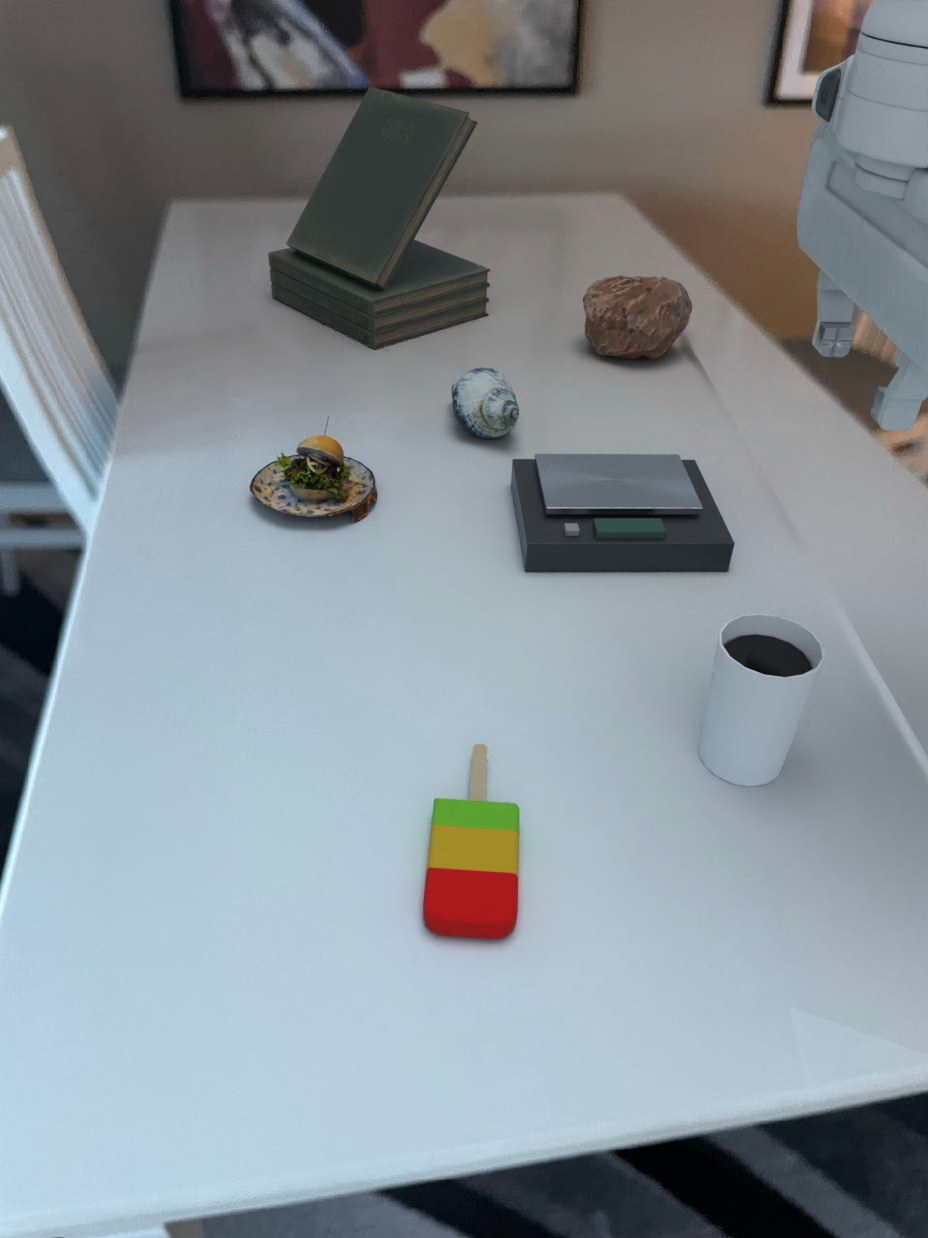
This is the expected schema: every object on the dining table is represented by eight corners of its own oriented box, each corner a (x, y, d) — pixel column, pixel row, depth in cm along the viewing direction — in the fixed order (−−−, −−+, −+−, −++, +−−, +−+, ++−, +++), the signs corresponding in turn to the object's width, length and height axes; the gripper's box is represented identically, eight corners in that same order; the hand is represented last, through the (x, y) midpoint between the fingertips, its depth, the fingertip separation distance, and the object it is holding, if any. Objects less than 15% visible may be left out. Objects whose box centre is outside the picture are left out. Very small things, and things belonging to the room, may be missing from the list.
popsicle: (420, 938, 57) (420, 918, 56) (440, 751, 69) (440, 732, 68) (516, 944, 57) (518, 924, 56) (519, 756, 69) (521, 737, 68)
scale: (690, 485, 100) (696, 451, 97) (728, 571, 88) (736, 535, 85) (510, 485, 99) (512, 451, 96) (524, 572, 87) (527, 535, 85)
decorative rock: (692, 347, 128) (706, 268, 122) (668, 379, 120) (682, 297, 114) (595, 328, 132) (604, 251, 126) (566, 358, 124) (574, 277, 118)
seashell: (505, 417, 114) (501, 467, 104) (447, 388, 112) (437, 436, 103) (532, 370, 110) (530, 417, 101) (472, 340, 109) (464, 384, 99)
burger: (229, 491, 96) (220, 420, 92) (331, 456, 102) (327, 388, 98) (297, 546, 89) (290, 472, 84) (402, 504, 95) (401, 433, 91)
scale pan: (677, 460, 97) (679, 454, 96) (702, 514, 89) (703, 507, 88) (534, 459, 96) (534, 453, 96) (545, 514, 88) (546, 507, 88)
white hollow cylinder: (782, 803, 66) (819, 690, 60) (683, 774, 68) (709, 662, 62) (794, 738, 71) (830, 628, 65) (702, 713, 73) (727, 603, 67)
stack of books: (271, 298, 138) (254, 96, 123) (384, 270, 148) (380, 81, 133) (373, 350, 124) (367, 131, 109) (488, 315, 135) (498, 111, 120)
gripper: (1130, 168, 39) (1000, 480, 47) (918, 75, 55) (849, 320, 63) (973, 163, 38) (870, 478, 47) (806, 71, 55) (751, 317, 63)
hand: (857, 386), depth 55 cm, fingers open, 8 cm apart
